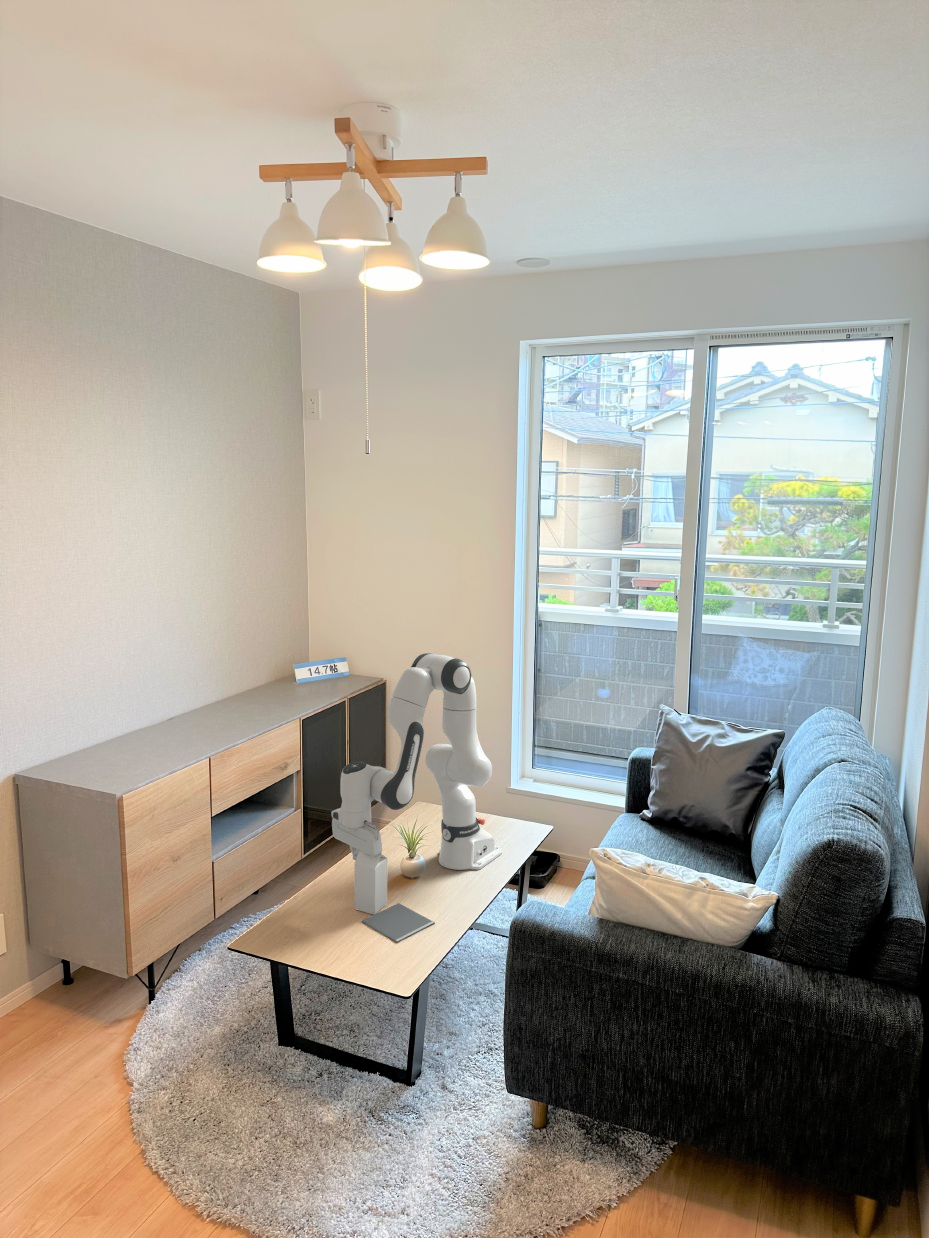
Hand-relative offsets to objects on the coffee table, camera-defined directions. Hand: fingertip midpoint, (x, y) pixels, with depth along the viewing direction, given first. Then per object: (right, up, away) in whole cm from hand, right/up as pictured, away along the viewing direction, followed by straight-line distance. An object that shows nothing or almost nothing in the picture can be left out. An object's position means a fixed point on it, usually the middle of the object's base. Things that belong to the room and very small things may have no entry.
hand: (357, 860), depth 249 cm
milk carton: (+4, -14, -2) cm, 14 cm away
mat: (+13, -15, -10) cm, 22 cm away
